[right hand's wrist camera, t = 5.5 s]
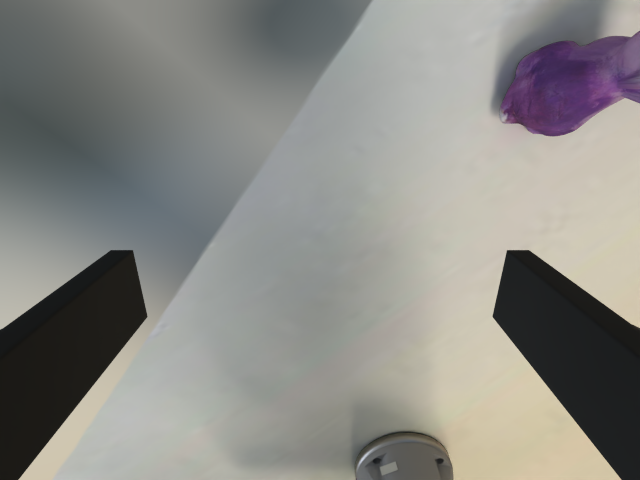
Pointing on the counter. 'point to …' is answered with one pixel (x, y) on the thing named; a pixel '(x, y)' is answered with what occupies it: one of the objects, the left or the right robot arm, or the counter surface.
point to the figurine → (572, 84)
